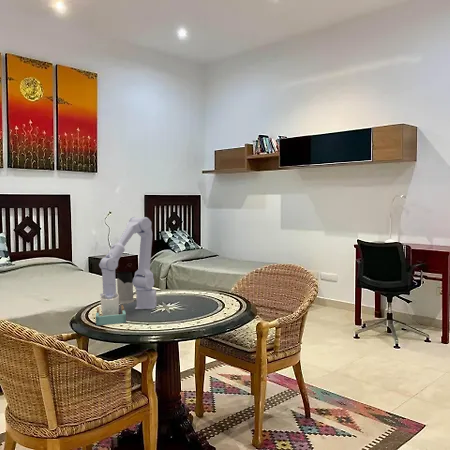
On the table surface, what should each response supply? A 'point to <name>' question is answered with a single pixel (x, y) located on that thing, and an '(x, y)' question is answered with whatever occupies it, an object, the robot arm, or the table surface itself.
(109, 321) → the tray
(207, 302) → the table surface
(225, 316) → the table surface
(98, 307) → the holster cradle
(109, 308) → the white cup
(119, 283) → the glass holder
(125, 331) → the table surface
